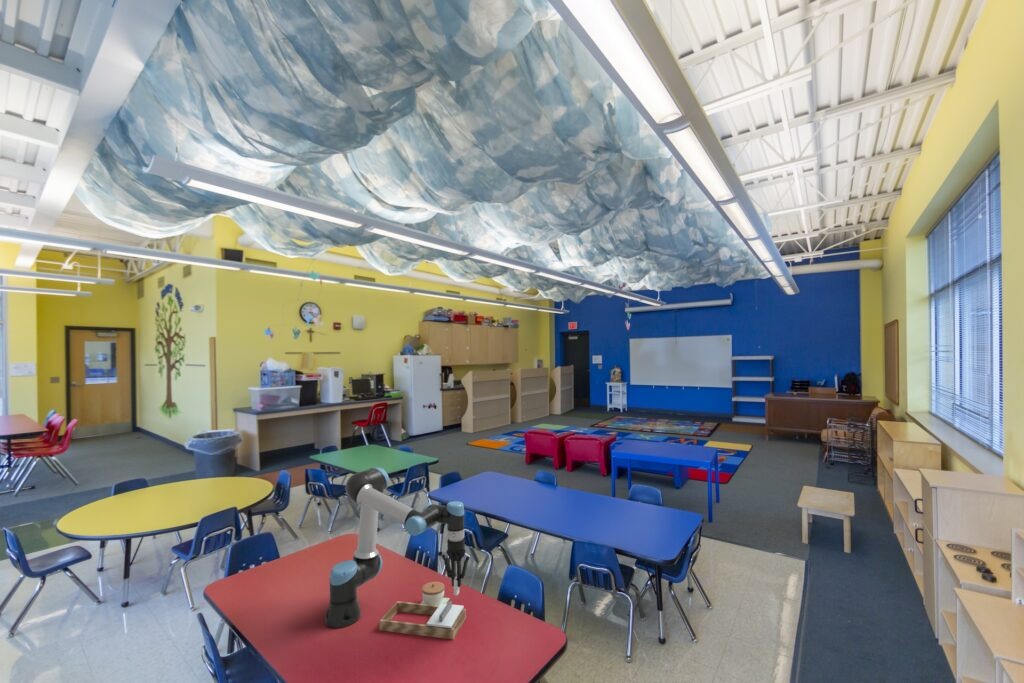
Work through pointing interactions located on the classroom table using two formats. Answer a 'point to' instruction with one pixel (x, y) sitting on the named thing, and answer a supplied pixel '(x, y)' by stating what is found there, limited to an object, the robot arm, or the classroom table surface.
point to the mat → (440, 602)
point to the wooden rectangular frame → (419, 628)
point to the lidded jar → (433, 593)
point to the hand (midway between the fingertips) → (456, 593)
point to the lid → (445, 615)
